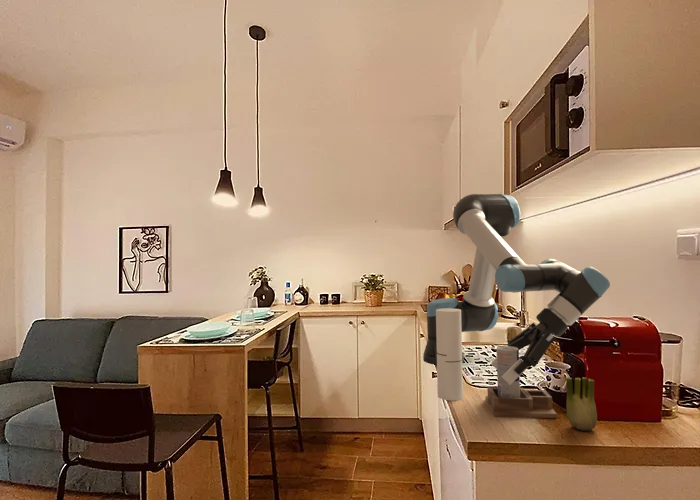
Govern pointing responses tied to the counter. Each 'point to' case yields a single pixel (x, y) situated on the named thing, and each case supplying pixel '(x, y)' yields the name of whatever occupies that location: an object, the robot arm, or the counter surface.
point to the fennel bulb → (581, 404)
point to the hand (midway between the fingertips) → (499, 373)
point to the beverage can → (504, 362)
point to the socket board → (521, 404)
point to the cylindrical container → (449, 354)
